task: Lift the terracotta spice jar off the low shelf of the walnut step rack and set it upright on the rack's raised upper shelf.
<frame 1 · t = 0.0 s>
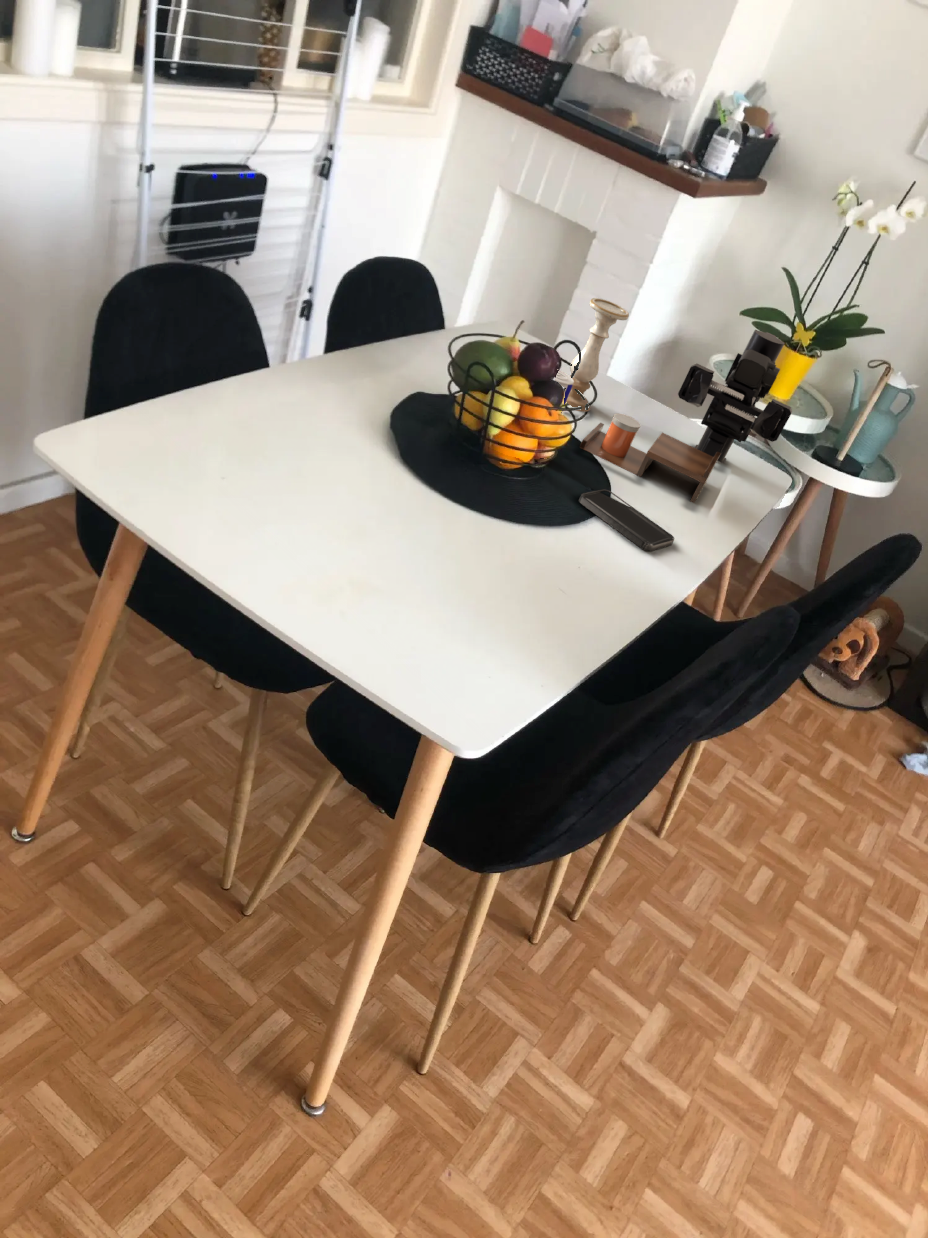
hand: (727, 413, 166), 17 cm above the table, tool horizontal, fingers open, 9 cm apart
spice jar: (613, 450, 180), point 1 cm above the table, touching step rack
beverage can: (524, 458, 167), on the table
step rack: (641, 470, 179), on the table
candle holder: (568, 407, 194), on the table
phone: (624, 523, 159), on the table
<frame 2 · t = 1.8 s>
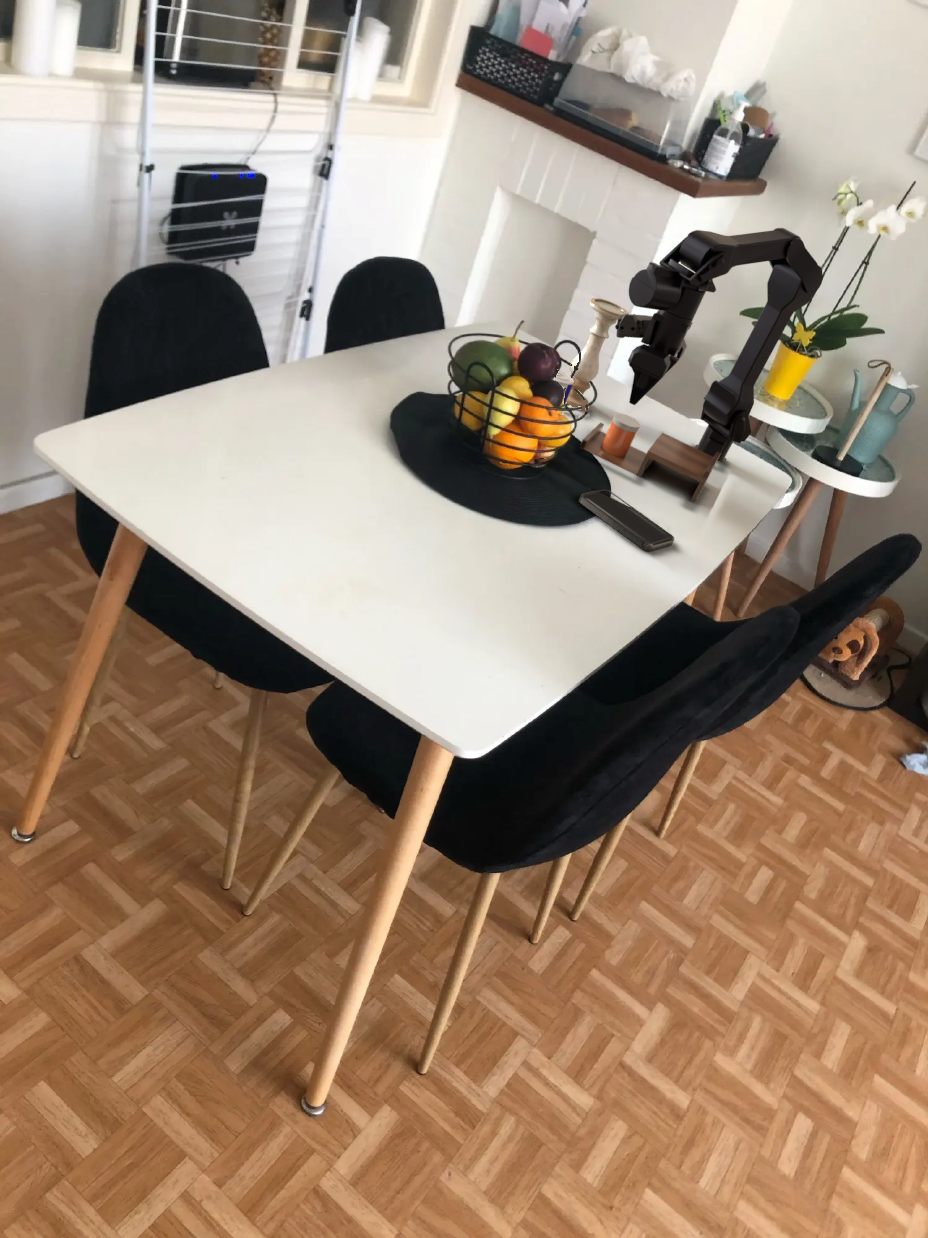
hand: (638, 397, 174), 12 cm above the table, tool pointing down, fingers open, 9 cm apart
nothing on the table moved.
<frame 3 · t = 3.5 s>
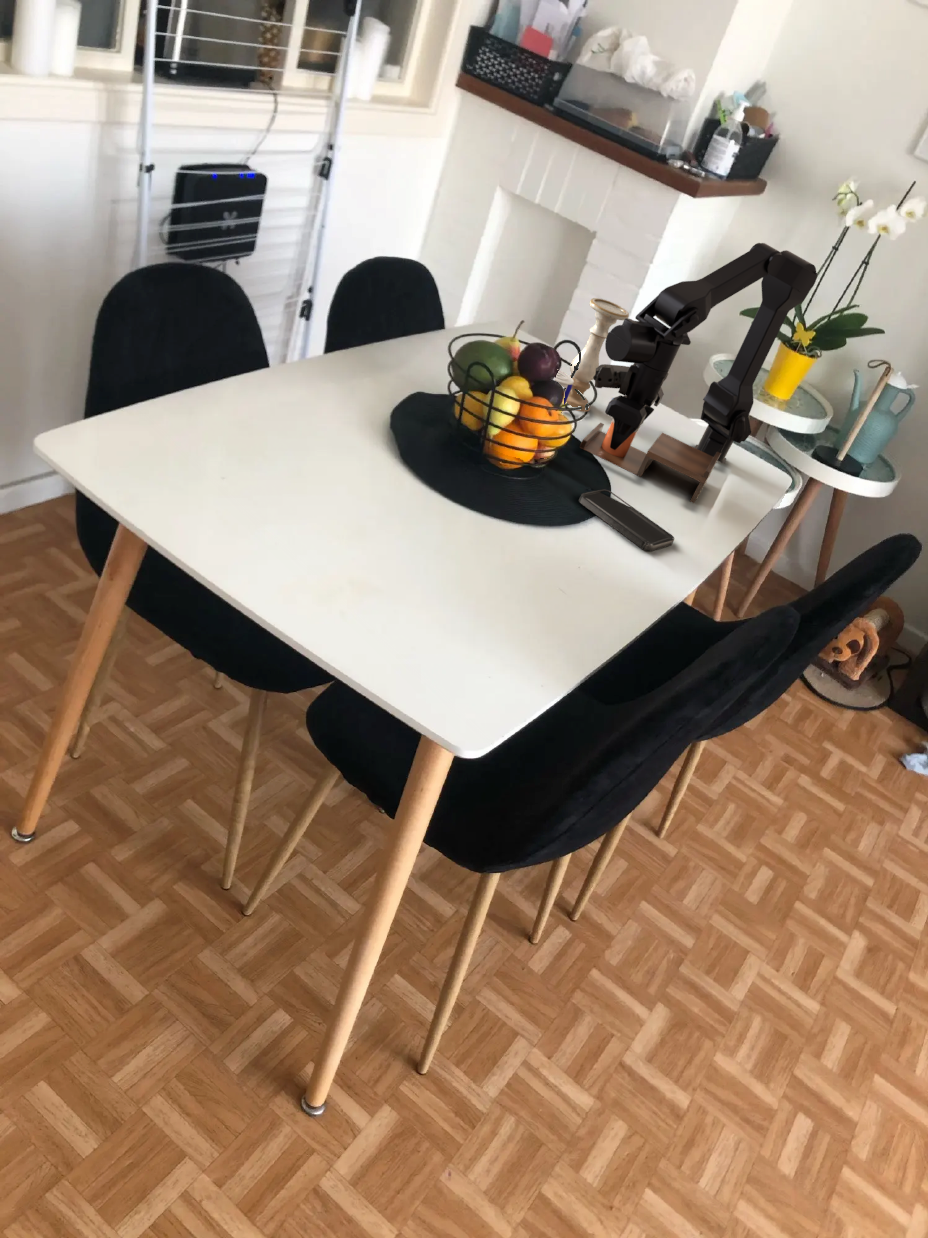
hand: (616, 444, 179), 2 cm above the table, tool pointing down, fingers closed on spice jar, 5 cm apart
spice jar: (613, 450, 180), point 1 cm above the table, touching gripper, step rack
everything else where it was.
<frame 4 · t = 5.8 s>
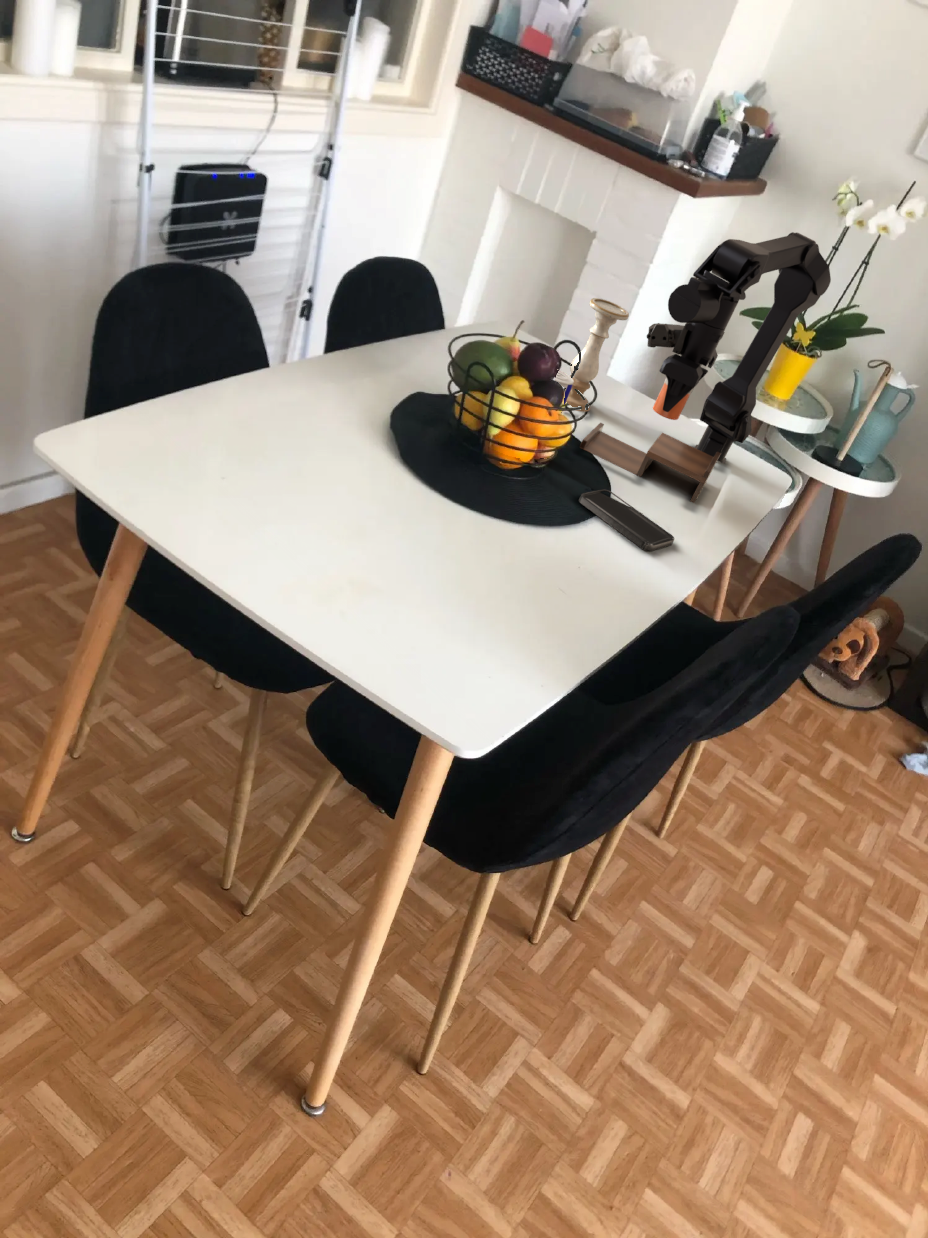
hand: (668, 407, 173), 12 cm above the table, tool pointing down, fingers closed on spice jar, 5 cm apart
spice jar: (665, 413, 173), point 11 cm above the table, touching gripper
everything else where it was.
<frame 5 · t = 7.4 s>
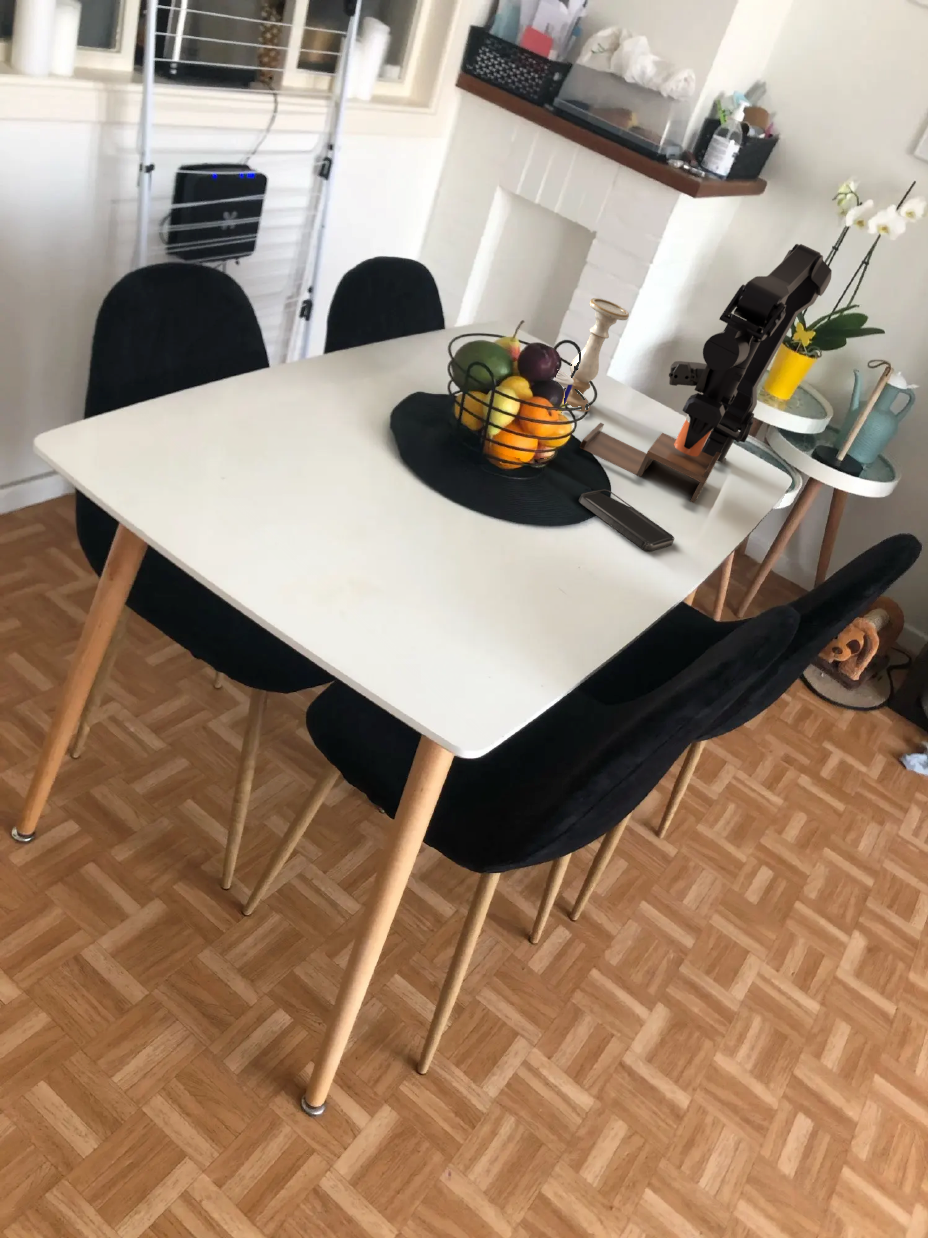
hand: (689, 443, 174), 8 cm above the table, tool pointing down, fingers closed on spice jar, 5 cm apart
spice jar: (686, 449, 175), point 7 cm above the table, touching gripper
everything else where it was.
when the fingers open (7 cm above the table, at t = 8.1 s): spice jar stays where it is, resting on step rack.
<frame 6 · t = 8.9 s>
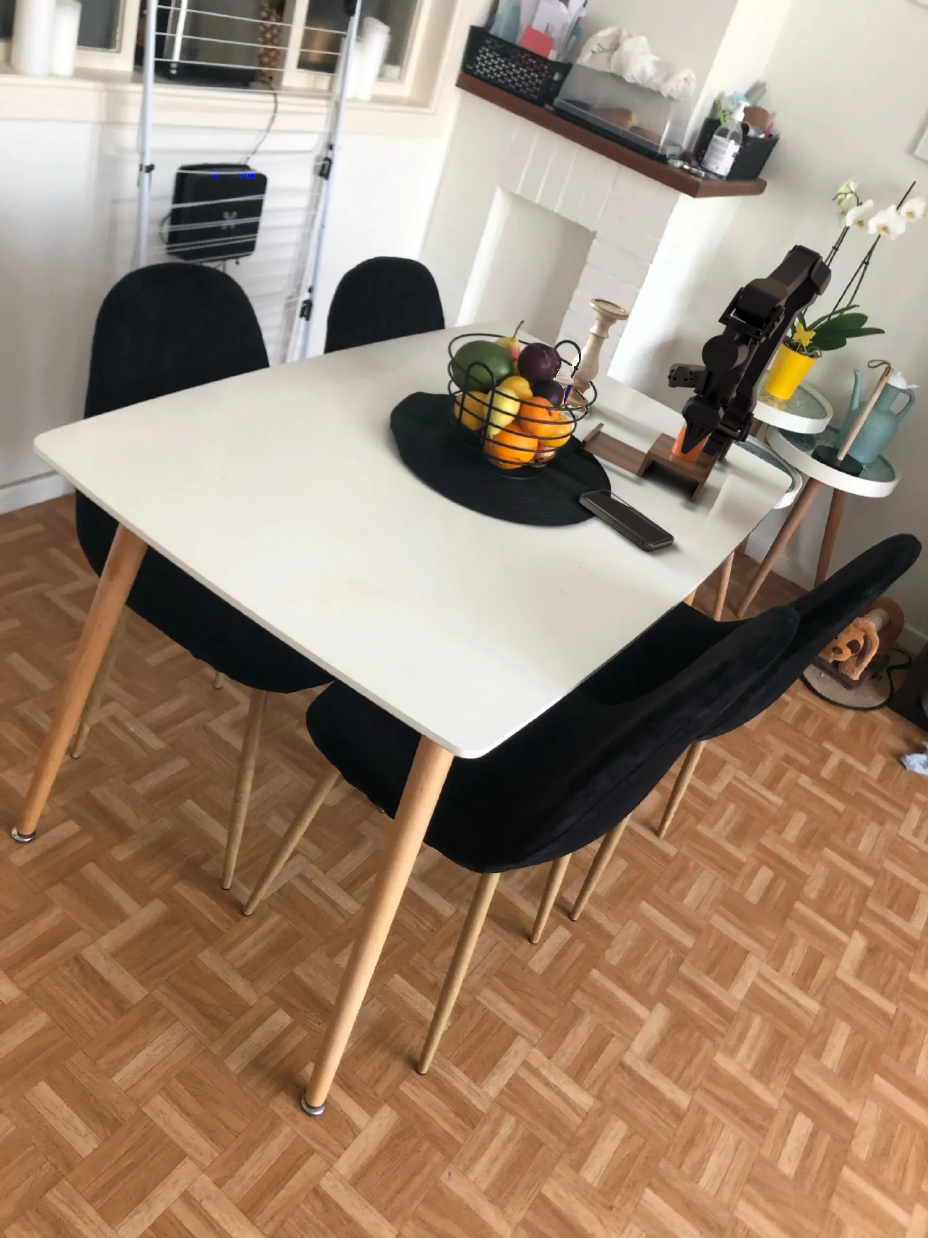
hand: (688, 445, 174), 8 cm above the table, tool pointing down, fingers open, 9 cm apart
spice jar: (683, 454, 175), point 6 cm above the table, touching step rack
everything else where it was.
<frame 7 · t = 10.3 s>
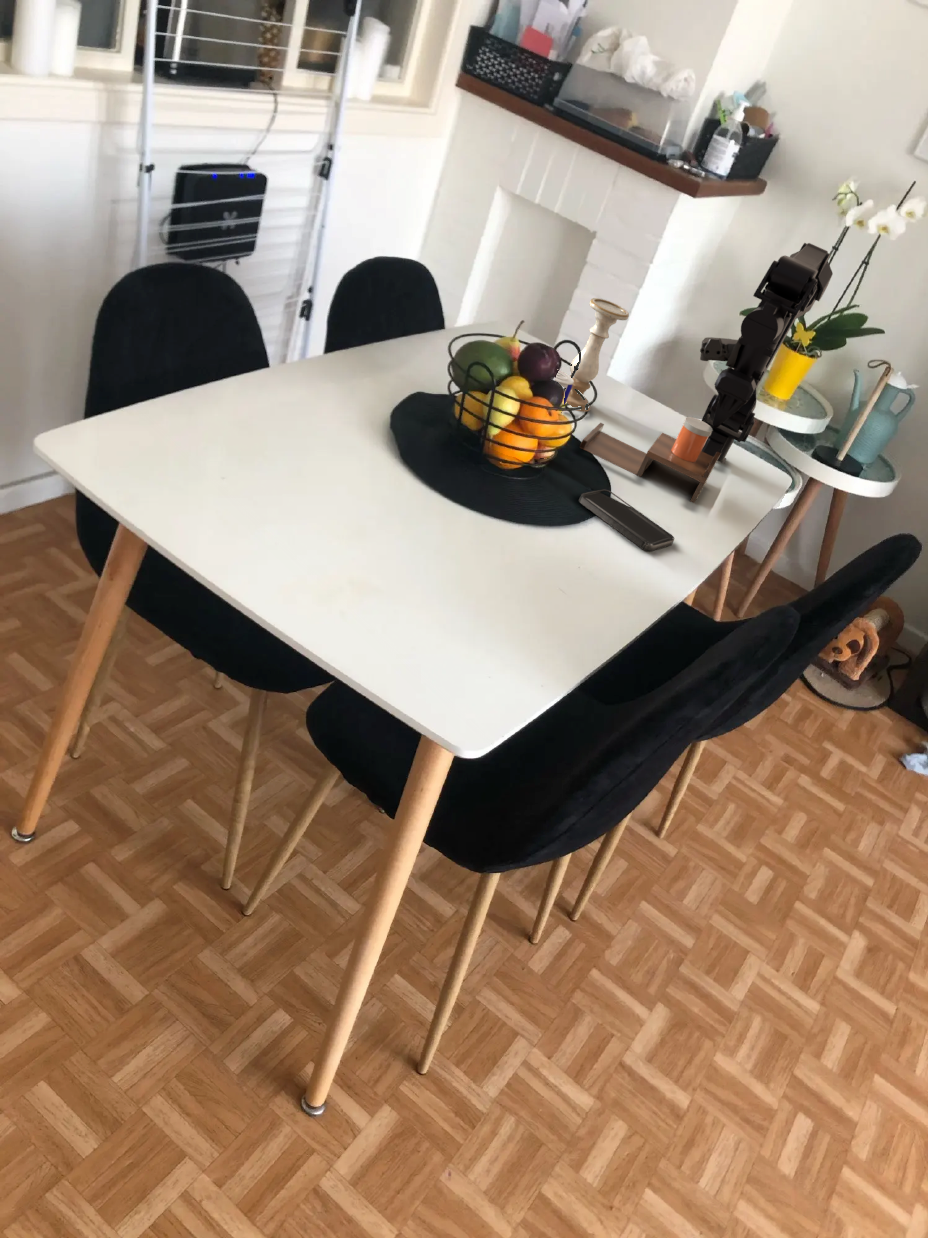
hand: (719, 419, 176), 12 cm above the table, tool pointing down, fingers open, 9 cm apart
nothing on the table moved.
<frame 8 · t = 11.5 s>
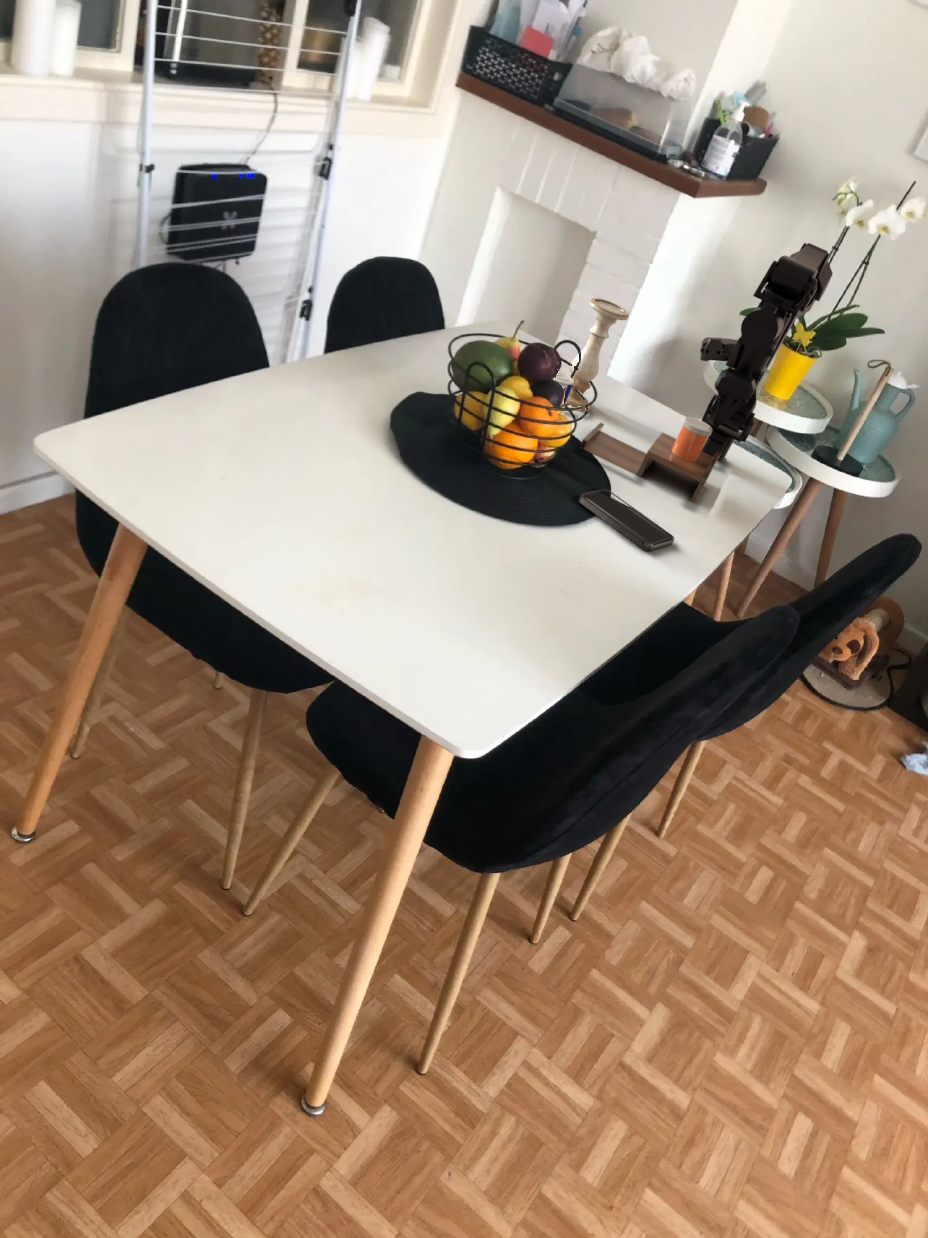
hand: (719, 419, 176), 13 cm above the table, tool pointing down, fingers open, 9 cm apart
nothing on the table moved.
at the end: spice jar inside the target area on the step rack (0.2 cm from its centre), point 6.0 cm above the step rack's base; spice jar tilted 0°; the gripper is holding nothing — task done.
